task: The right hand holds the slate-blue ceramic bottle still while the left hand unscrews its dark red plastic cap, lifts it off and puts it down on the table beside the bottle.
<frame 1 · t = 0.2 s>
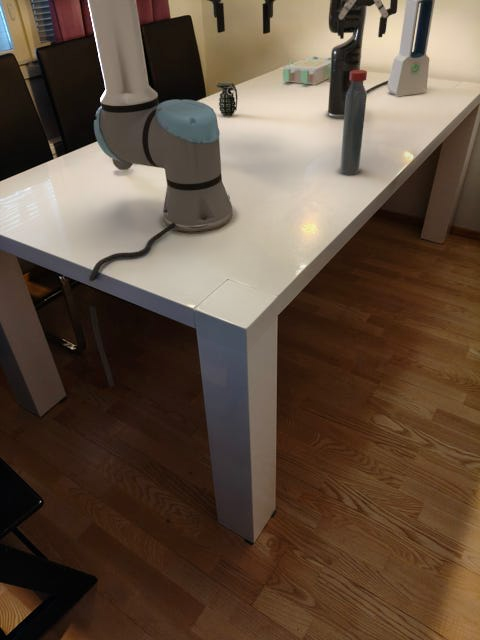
left hand: (243, 32, 129), 29 cm above the table, tool pointing down, fingers open, 13 cm apart
right hand: (360, 37, 111), 29 cm above the table, tool pointing down, fingers open, 8 cm apart
decorative block: (310, 79, 207), on the table
cap: (358, 73, 110), point 23 cm above the table, screwed on, not yet turned
bottle: (349, 171, 124), on the table
molecular model: (147, 156, 141), on the table
electronic device: (405, 93, 182), on the table
grenade: (228, 115, 169), on the table
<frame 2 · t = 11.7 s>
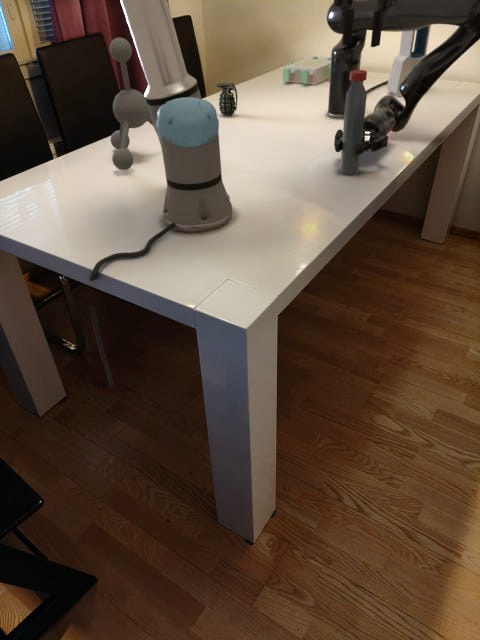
left hand: (360, 44, 107), 29 cm above the table, tool pointing down, fingers open, 6 cm apart
right hand: (347, 149, 119), 6 cm above the table, tool horizontal, fingers closed on bottle, 4 cm apart
bottle: (349, 171, 124), on the table, touching right hand
everything else where it was.
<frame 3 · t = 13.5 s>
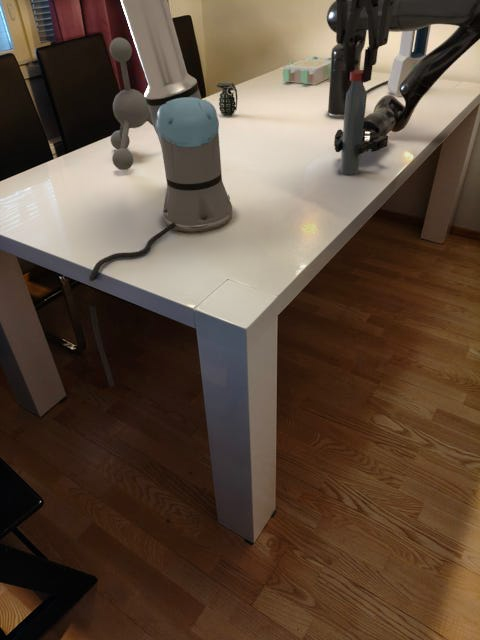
left hand: (357, 79, 111), 21 cm above the table, tool pointing down, fingers closed on cap, 4 cm apart
right hand: (347, 149, 119), 6 cm above the table, tool horizontal, fingers closed on bottle, 4 cm apart
cap: (358, 73, 110), point 23 cm above the table, screwed on, not yet turned, touching left hand
bottle: (349, 171, 124), on the table, touching right hand
everything else where it was.
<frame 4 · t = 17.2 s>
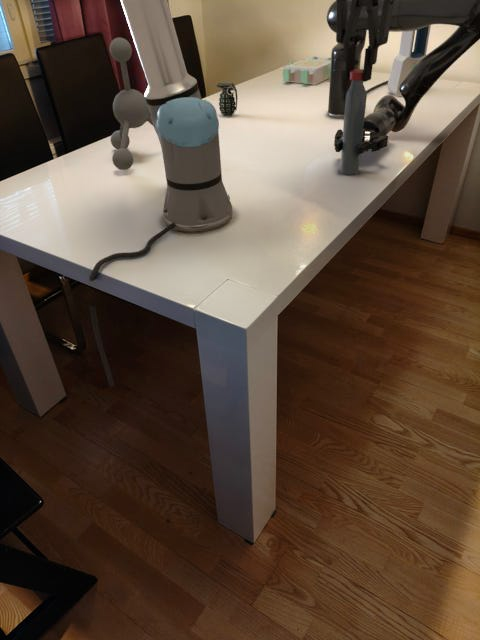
left hand: (357, 79, 111), 22 cm above the table, tool pointing down, fingers closed on cap, 4 cm apart
right hand: (347, 149, 119), 6 cm above the table, tool horizontal, fingers closed on bottle, 4 cm apart
cap: (358, 72, 110), point 23 cm above the table, turned 143° so far, risen 0.1 cm, still on its thread, touching left hand
bottle: (349, 171, 124), on the table, touching right hand
everything else where it was.
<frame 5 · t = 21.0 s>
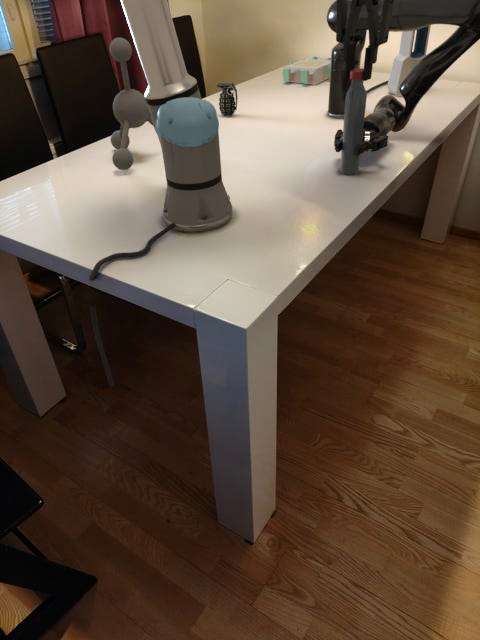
left hand: (357, 78, 111), 22 cm above the table, tool pointing down, fingers closed on cap, 4 cm apart
right hand: (347, 149, 119), 6 cm above the table, tool horizontal, fingers closed on bottle, 4 cm apart
cap: (358, 71, 110), point 23 cm above the table, turned 285° so far, risen 0.3 cm, still on its thread, touching left hand
bottle: (349, 171, 124), on the table, touching right hand
everything else where it was.
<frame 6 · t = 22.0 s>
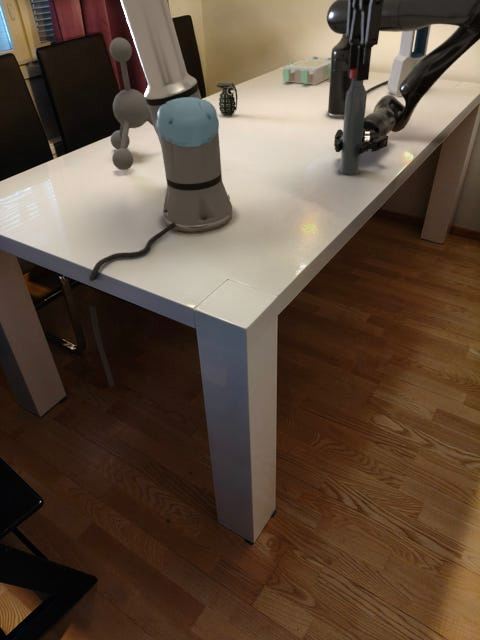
left hand: (357, 77, 111), 22 cm above the table, tool pointing down, fingers closed on cap, 4 cm apart
right hand: (347, 149, 119), 6 cm above the table, tool horizontal, fingers closed on bottle, 4 cm apart
cap: (358, 71, 110), point 23 cm above the table, off its thread, touching left hand
bottle: (349, 171, 124), on the table, touching right hand
everything else where it was.
when the left hand's fingers open (1 cm above the table, at t = 29.0 s): cap drops 1 cm, point 1 cm above the table.
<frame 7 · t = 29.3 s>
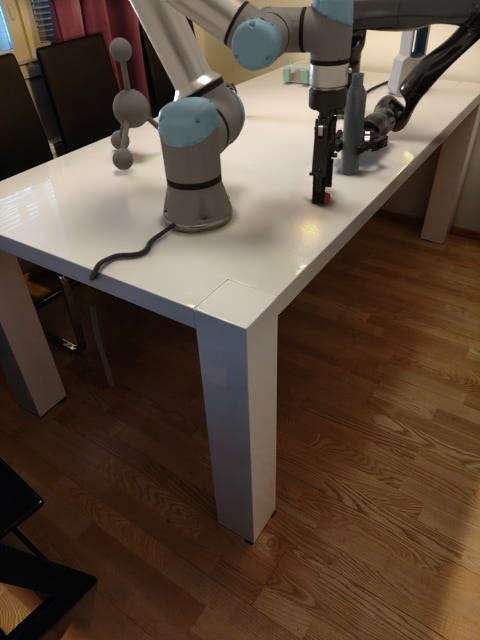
left hand: (322, 194, 110), 2 cm above the table, tool pointing down, fingers open, 9 cm apart
right hand: (347, 149, 119), 6 cm above the table, tool horizontal, fingers closed on bottle, 4 cm apart
cap: (322, 196, 110), point 1 cm above the table, off its thread
bottle: (349, 171, 124), on the table, touching right hand
everything else where it was.
when the right hand's fingers open (6 cm above the table, at t = 30.3 s): bottle stays where it is, on the table.
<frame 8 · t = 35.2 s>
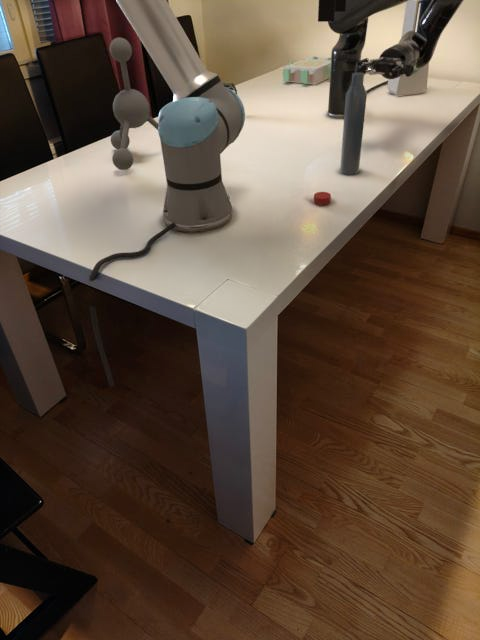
left hand: (332, 16, 89), 36 cm above the table, tool pointing down, fingers open, 13 cm apart
right hand: (375, 73, 119), 21 cm above the table, tool horizontal, fingers open, 8 cm apart
bottle: (349, 171, 124), on the table
everything else where it was.
at the end: cap came off its thread; cap point 1.3 cm above the table; the left hand is holding nothing; the right hand is holding nothing; bottle tilted 0°; bottle moved 0.0 cm from its start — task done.
